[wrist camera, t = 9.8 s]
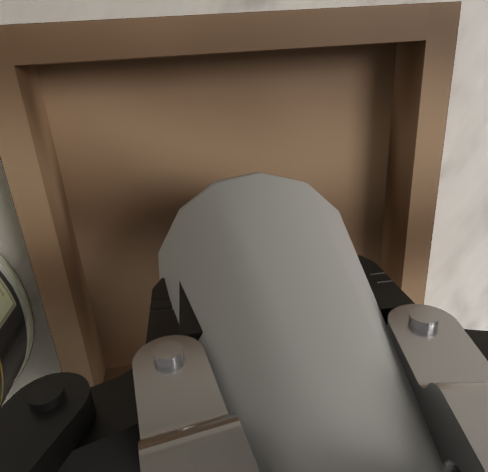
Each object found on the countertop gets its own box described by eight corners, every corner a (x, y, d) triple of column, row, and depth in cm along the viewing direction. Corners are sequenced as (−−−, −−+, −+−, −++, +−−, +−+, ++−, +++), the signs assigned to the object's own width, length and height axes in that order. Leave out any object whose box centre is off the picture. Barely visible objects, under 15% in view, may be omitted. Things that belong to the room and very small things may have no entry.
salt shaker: (348, 177, 14) (1174, 748, 2) (299, 319, 16) (621, 1020, 4) (178, 138, 13) (157, 943, 1) (146, 296, 15) (16, 1201, 3)
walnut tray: (0, 33, 13) (-37, 26, 11) (418, 11, 15) (461, 1, 12) (89, 380, 19) (77, 424, 16) (388, 338, 20) (414, 373, 18)
